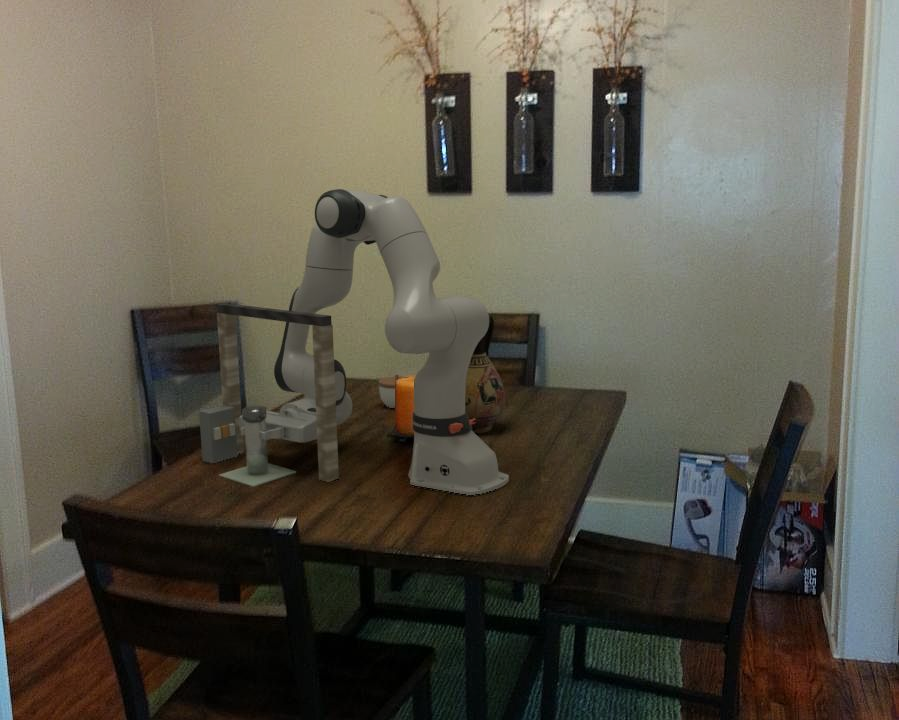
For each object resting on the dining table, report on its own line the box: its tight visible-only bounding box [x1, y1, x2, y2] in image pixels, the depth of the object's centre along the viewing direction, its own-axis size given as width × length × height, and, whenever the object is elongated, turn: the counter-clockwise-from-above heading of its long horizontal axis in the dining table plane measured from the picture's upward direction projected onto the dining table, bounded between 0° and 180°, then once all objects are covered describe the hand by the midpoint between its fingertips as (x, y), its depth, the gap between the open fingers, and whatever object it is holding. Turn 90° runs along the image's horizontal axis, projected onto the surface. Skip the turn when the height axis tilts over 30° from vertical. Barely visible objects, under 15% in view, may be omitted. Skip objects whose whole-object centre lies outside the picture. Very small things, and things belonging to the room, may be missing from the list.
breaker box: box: [198, 404, 239, 464], centre depth 208 cm, size 5×7×12 cm
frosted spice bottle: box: [241, 405, 269, 473], centre depth 196 cm, size 5×5×14 cm
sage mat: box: [218, 462, 297, 488], centre depth 197 cm, size 12×12×1 cm
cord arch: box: [216, 302, 340, 483], centre depth 200 cm, size 36×3×36 cm, turn 50°
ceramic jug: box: [465, 314, 506, 434], centre depth 229 cm, size 17×15×30 cm
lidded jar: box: [377, 374, 409, 409], centre depth 255 cm, size 11×11×9 cm
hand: (252, 434), depth 195 cm, fingers open, 5 cm apart
